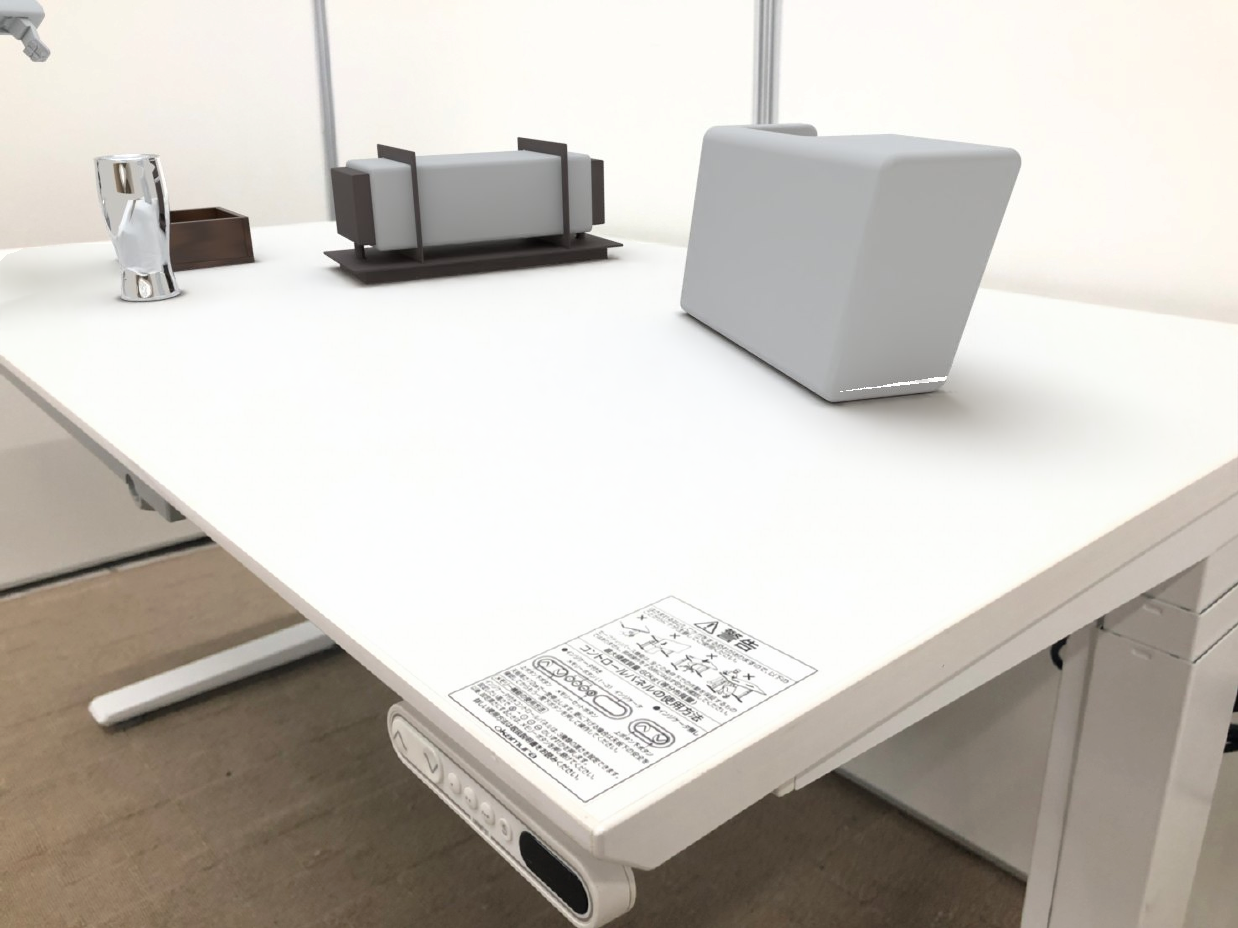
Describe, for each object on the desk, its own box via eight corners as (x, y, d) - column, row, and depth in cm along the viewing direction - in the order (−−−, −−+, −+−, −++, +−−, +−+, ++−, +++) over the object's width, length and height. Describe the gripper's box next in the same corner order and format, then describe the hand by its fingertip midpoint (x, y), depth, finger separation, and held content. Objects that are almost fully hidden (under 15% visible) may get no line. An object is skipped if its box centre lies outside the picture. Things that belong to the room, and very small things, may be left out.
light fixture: (622, 140, 130) (341, 155, 115) (624, 259, 135) (355, 288, 120) (570, 134, 143) (311, 146, 128) (573, 243, 148) (324, 267, 133)
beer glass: (134, 289, 122) (110, 154, 116) (194, 289, 121) (172, 153, 116) (105, 302, 115) (78, 160, 110) (168, 302, 115) (144, 159, 109)
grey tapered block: (909, 496, 87) (1030, 151, 68) (794, 512, 85) (886, 158, 65) (771, 302, 109) (833, -1, 90) (677, 309, 107) (720, -1, 87)
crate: (144, 274, 130) (135, 227, 128) (121, 259, 141) (113, 215, 139) (254, 262, 137) (248, 216, 135) (225, 248, 148) (219, 206, 146)
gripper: (-31, -17, 120) (62, 78, 122) (-187, -30, 101) (-74, 81, 103) (-3, -60, 118) (91, 37, 120) (-157, -82, 99) (-42, 33, 101)
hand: (13, 58), depth 112 cm, fingers open, 8 cm apart
